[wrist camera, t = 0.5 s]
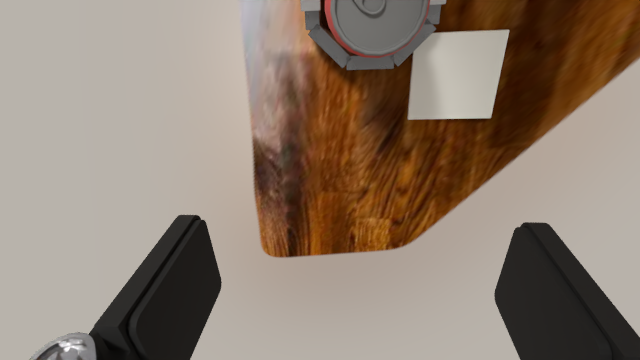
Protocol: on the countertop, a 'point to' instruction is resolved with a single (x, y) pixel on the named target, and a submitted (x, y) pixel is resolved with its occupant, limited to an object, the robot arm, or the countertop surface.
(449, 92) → the plate
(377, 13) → the beer can
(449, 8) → the countertop surface
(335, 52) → the collar
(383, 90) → the countertop surface
